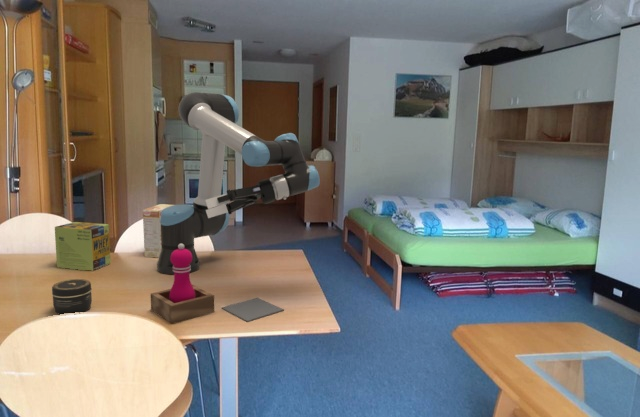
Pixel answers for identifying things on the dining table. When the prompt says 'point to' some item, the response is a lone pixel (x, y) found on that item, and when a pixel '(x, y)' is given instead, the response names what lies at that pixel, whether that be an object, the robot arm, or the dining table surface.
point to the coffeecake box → (153, 230)
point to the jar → (72, 296)
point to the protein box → (82, 245)
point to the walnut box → (182, 305)
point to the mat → (252, 309)
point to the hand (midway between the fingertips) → (206, 209)
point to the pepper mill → (181, 275)
